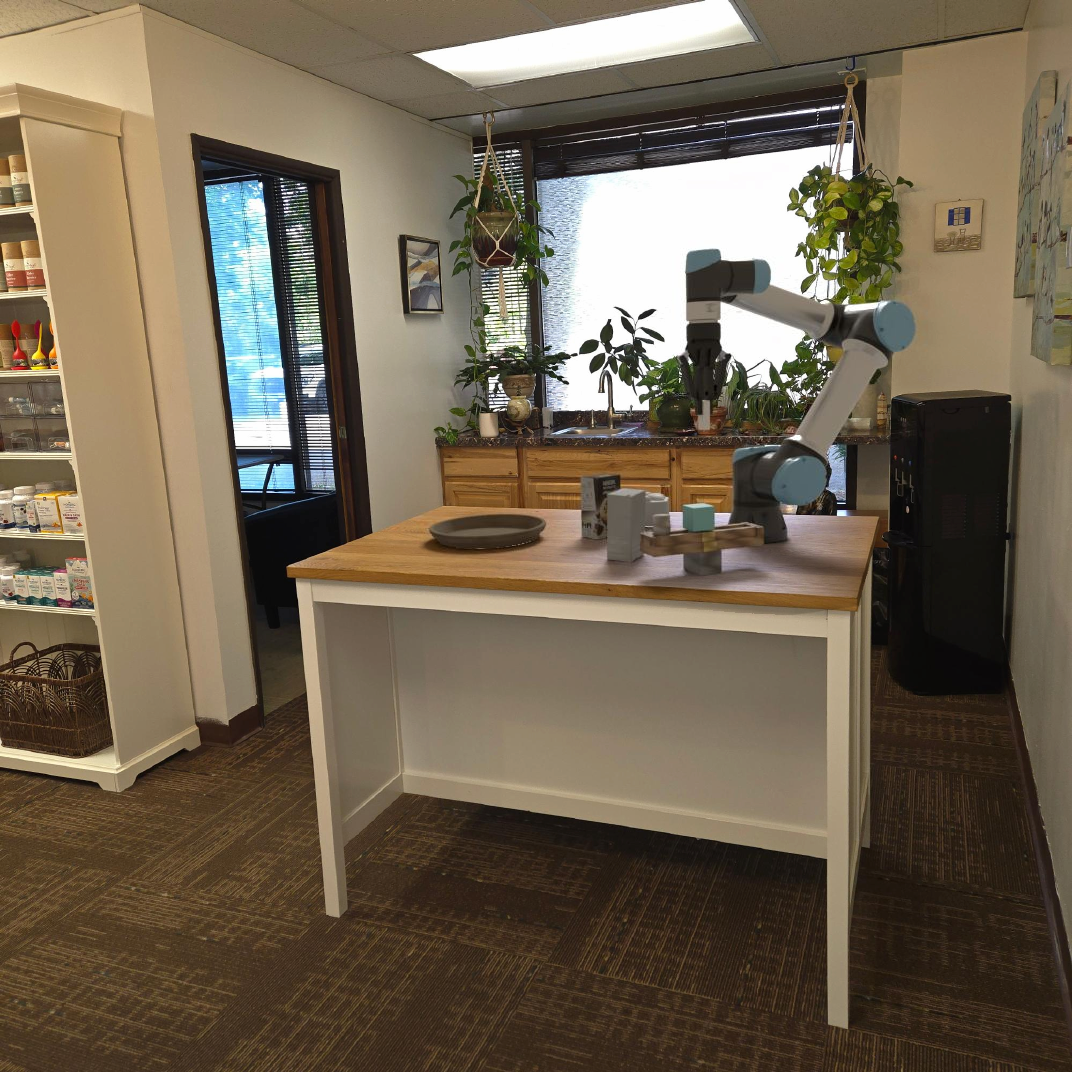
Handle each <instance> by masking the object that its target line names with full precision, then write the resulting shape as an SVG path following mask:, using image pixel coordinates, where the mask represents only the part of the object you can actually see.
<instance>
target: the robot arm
mask: <svg viewBox="0 0 1072 1072" xmlns="http://www.w3.org/2000/svg"><path fill="white" fill-rule="evenodd" d="M685 258H686V259H685V269H684V270H685V271H684V274H685V299H686V302H685V320H686V321H687V322H688V323H687V324H686V327H685V328H686V329H685V330H686V337H685V338H686V346H685V347H684V351H683V352H681V354H679V355H676V356H675V361H676V362H677V364H678V366H679V368H680V374H681V377H682V381H683V382H682V383H683V386H684V389H685V390H684V391H685V394H686V397H687V398H689V399H692V400H693V401H694V414H695V416H697V428H698V430H699V431H700V430H701V431H710V430H711V416H710V415H713V412H714V400H715V399H717V398H718V397H721V395H722V393H723V392H722V391H723V387H724V382H725V377H726V373H727V368H728V364H729V362H730V361H731V359H732V356H733V355H732V354H731V353H727V352H726V351H725V350H723V346H722V344H721V337H722V331H721V329H722V325H721V323H720V322H719V320H721V318H722V317H721V314H722V312H721V311H722V310H721V308H722V307H721V306H722V305H721V304H722V303H723V304H727V305H729V306H732V307H734V308H738V309H741V310H743V311H746V312H749V313H752V314H754V315H758V316H761V317H763V318H765V319H769V320H772V321H774V322H777V323H780V324H783V325H785V326H788V327H791V328H795V329H797V330H799V331H803V332H806V333H807V335H808V337H809V338H811V340H815V341H817V342H820V343H823V344H826V345H829V346H831V347H834V348H837V349H839V350H842V351H843V353H842V355H841V357H840V359H839V360H838V362H837V363H836V365H835V366H834V368H833V370H832V372H831V373H830V375H829V376H828V378H827V380H826V381H825V383H824V385H823V387H822V388H821V390H820V392H819V393H818V395H817V397H816V398H815V400H814V401H813V403H812V405H811V406H810V407H809V410H808V412H807V413H806V415H805V416H804V418H803V420H802V421H801V423H800V425H799V426H798V428H797V430H796V431H795V433H794V435H793V436H790V437H786V438H784V439H783V440H782V442H781V444H780V445H766V446H765V445H763V446H752V447H743V448H736V449H735V450H734V452H733V454H732V456H733V457H732V463H731V466H732V509H731V513H730V516H729V518H728V521H727V524H726V525H729V524H739V523H743V522H748V523H752V524H755V525H759V526H762V527H764V544H770V543H777V542H782V541H783V542H784V541H785V540H787V539H788V527H787V524H786V520H785V517H784V514H783V512H782V508H781V504H782V505H786V506H798V507H799V506H805V505H809V504H811V503H812V502H815V500H817V499H818V498H819V497H820V496H821V495H822V493H823V492H824V490H825V488H826V485H827V479H828V478H827V477H826V476H827V475H828V474H827V473H828V472H827V470H826V468H827V466H828V464H829V460H828V456H827V453H828V451H829V449H830V448H831V447H832V445H833V443H834V441H835V440H836V438H837V437H838V435H839V433H840V432H841V430H842V428H843V426H844V425H845V423H846V421H847V419H848V418H849V416H850V415H851V413H852V412H853V410H854V408H855V406H856V405H857V403H858V402H859V400H860V398H861V397H862V395H863V393H864V391H865V389H866V388H867V387H868V384H869V383H870V381H871V380H872V378H873V376H874V374H875V373H876V371H877V370H878V369H882V368H886V366H888V364H889V362H890V360H891V359H892V357H893V356H894V354H895V353H896V352H897V353H899V352H901V351H903V350H906V349H907V348H908V347H910V346H911V344H912V343H913V340H914V338H915V335H916V328H917V325H916V323H915V316H914V313H913V312H912V310H911V308H909V306H908V305H907V304H905V303H904V302H902V301H899V300H889V299H884V300H881V301H875V302H863V303H854V304H852V303H851V304H850V303H849V304H841V303H834V302H832V301H830V300H823V301H820V302H819V301H817V300H814V299H812V298H809V297H806V296H803V295H801V294H797V293H795V292H791V291H789V290H787V289H783V288H781V287H779V286H776V285H773V284H770V283H771V280H772V269H771V266H770V264H769V263H768V262H767V260H765V259H763V258H762V259H761V258H754V257H753V258H729V259H726V258H722V254H721V250H720V249H718V248H708V247H707V248H698V249H692V250H690V251H688V252H687V254H686V257H685ZM717 359H718V361H717V365H716V360H717ZM689 361H691V363H692V370H693V373H692V370H691V365H690V362H689Z"/></svg>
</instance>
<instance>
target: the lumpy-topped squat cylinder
mask: <svg viewBox="0 0 1072 1072" xmlns="http://www.w3.org/2000/svg"><path fill="white" fill-rule="evenodd" d="M656 514H668V515H670V498H669V496H665V495H664V494H662V493H658V492H656V493H655V492H654V493H652V492H650V491H646V496H645V526H653V515H656Z"/></svg>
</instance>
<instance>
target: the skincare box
mask: <svg viewBox="0 0 1072 1072" xmlns="http://www.w3.org/2000/svg"><path fill="white" fill-rule="evenodd" d="M646 492H647V490H644V489H636V488H635V489H634V488H626V487H625V488H621V489H620V490H617V491H615V492H612V493H609V494H607V538H606V549H607V550H606V560H609V561H610V560H612V561H619V562H627V561H629V562H628V563H631V562H633V561H635V560H637V559H638V558H640V557H641V556H643V555H645V553H643V552H641V551H640V533H644V532H646V528H645V496H646ZM636 558H637V559H636ZM630 561H631V562H630Z"/></svg>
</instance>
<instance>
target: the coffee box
mask: <svg viewBox="0 0 1072 1072" xmlns="http://www.w3.org/2000/svg"><path fill="white" fill-rule="evenodd" d="M621 487H622V486H621V474H617V473H599V474H591V475H585V476H580V513H581V514H580V515H581V516H580V517H581V518H580V519H581V524H580V525H581V538H586V537H587V538H588V539H591V538H593V539H592V540H596V539H598V540H603V539H607V538H606V537H607V494H609V493H612V492H615V491H617V490H620V489H622V488H621ZM587 538H586V539H587ZM602 538H603V539H602Z"/></svg>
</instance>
